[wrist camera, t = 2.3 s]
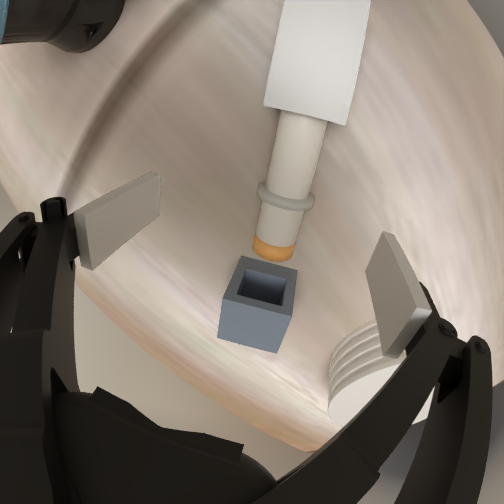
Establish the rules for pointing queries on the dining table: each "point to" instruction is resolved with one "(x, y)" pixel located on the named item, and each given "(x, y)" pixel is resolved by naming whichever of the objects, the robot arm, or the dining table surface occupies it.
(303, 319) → the dining table surface
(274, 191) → the tube
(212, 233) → the dining table surface
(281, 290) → the socket
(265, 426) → the dining table surface
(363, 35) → the sleeve
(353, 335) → the plate stack
